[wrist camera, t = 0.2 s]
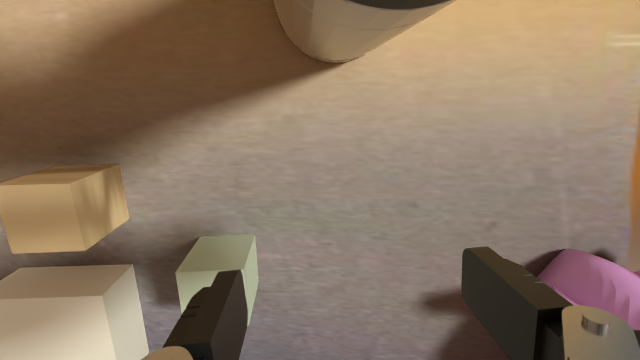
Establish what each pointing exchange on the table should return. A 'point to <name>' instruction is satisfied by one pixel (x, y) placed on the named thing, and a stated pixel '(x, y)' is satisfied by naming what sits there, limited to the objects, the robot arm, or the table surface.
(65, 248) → the oak cube
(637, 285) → the teakettle
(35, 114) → the table surface
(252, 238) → the sage cube
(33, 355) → the cream base block
